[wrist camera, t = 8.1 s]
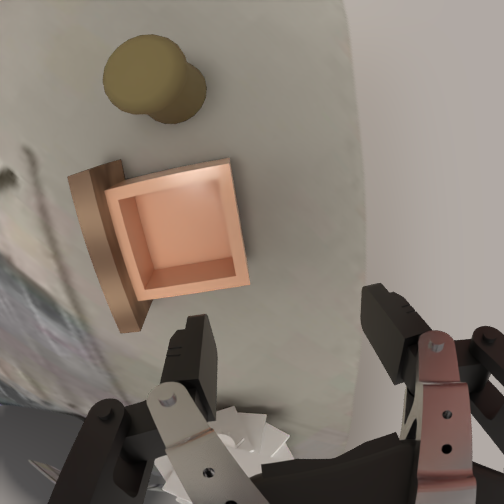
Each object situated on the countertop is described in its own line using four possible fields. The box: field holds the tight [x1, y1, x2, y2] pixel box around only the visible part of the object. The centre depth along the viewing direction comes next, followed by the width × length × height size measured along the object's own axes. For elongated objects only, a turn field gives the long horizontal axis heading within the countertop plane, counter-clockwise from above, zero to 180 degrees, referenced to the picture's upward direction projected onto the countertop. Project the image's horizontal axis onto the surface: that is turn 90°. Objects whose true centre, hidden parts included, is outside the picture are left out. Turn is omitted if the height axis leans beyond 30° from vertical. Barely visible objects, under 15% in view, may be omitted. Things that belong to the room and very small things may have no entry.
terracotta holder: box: [104, 158, 250, 301], centre depth 25 cm, size 10×10×5 cm
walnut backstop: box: [68, 159, 153, 333], centre depth 25 cm, size 14×2×7 cm, turn 9°
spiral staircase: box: [154, 406, 294, 504], centre depth 34 cm, size 18×18×25 cm
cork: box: [103, 34, 207, 124], centre depth 18 cm, size 6×6×11 cm
